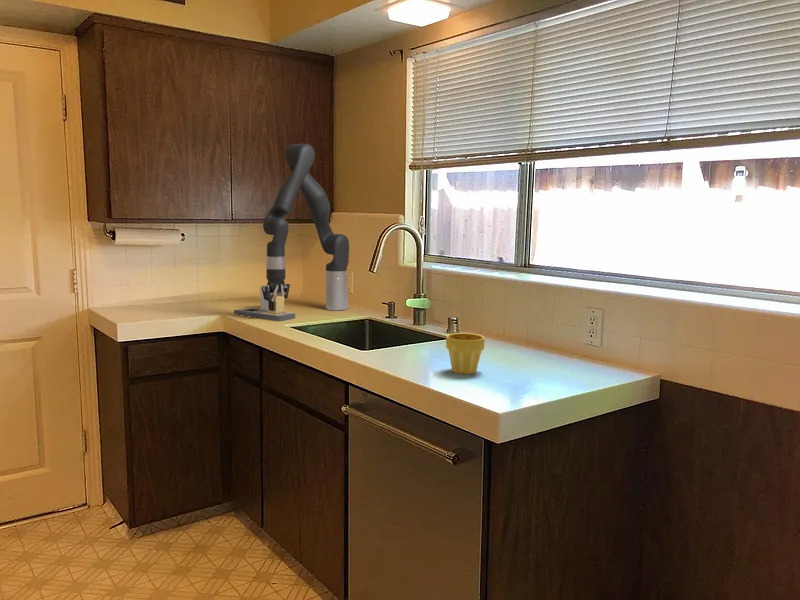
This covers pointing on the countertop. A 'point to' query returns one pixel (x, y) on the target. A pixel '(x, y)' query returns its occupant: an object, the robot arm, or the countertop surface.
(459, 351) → the plant pot
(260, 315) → the grey slotted board
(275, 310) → the nut block
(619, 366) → the countertop surface
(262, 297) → the small box
